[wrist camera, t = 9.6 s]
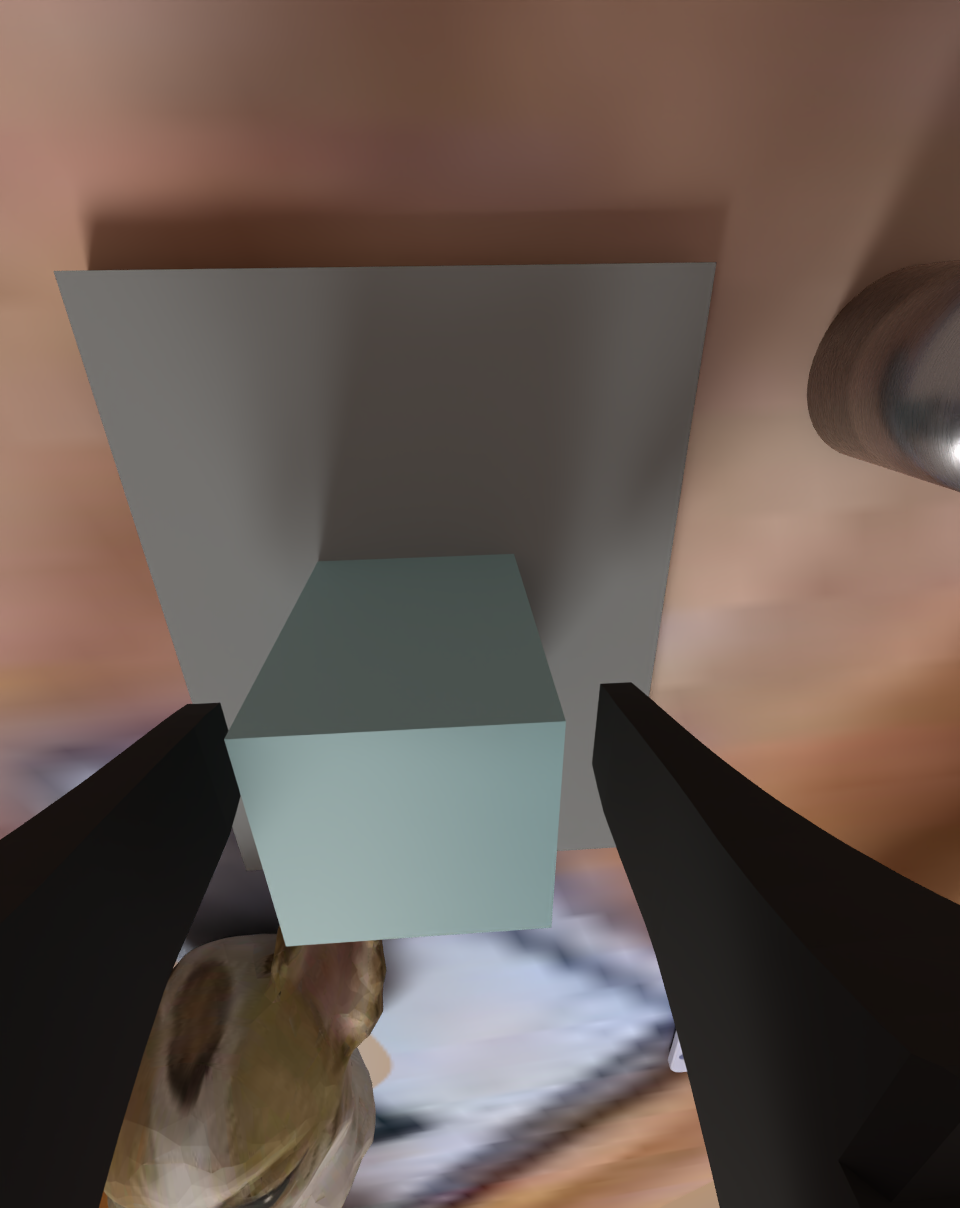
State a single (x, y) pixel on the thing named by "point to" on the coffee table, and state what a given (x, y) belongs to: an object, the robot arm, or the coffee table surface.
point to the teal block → (405, 754)
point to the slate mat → (403, 451)
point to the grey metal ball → (895, 375)
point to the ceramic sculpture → (253, 1079)
